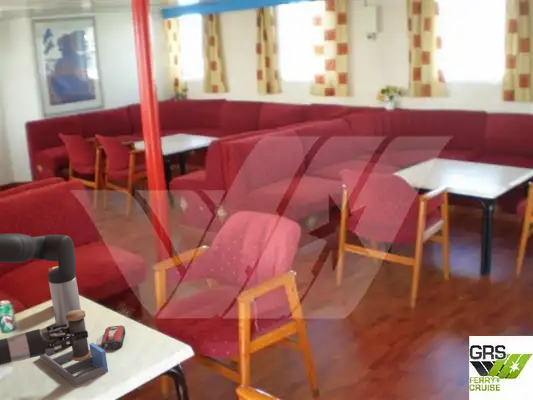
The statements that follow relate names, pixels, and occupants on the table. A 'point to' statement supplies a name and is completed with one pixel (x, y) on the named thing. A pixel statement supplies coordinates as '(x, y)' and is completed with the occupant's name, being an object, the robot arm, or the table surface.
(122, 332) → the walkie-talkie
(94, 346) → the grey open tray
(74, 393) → the table surface
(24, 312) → the table surface
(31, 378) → the table surface
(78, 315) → the cord spool
